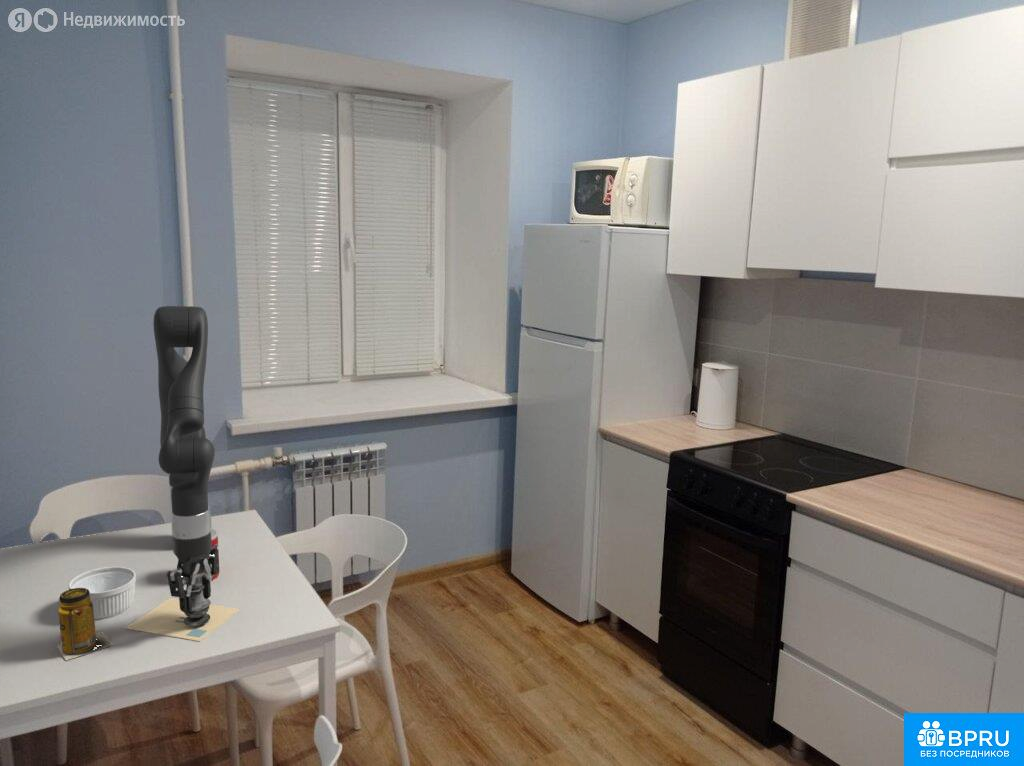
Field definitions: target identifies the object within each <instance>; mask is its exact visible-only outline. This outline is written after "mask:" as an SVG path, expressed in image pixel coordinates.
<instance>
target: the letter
mask: <svg viewBox="0 0 1024 766" xmlns="http://www.w3.org/2000/svg"><path fill="white" fill-rule="evenodd" d="M239 611H240V609H239V608H234V607H228V606H222V605H215V604H212V603H211V604H210V607H209V610H208V612H207V614H209V615H210V620H209V621H207V622H206V623H204V624H201V625H197V626H189V625H186V624H185V623H184V619H185V618H186V617H187V616H186V615H185V613H184V612H182V611H181V610H180V603H179V599H178V598H174V597H173V598H172V597H169V598H168V599H167V600H165V601H163V602H162V603H160V604H159V605H157V606H156V607H155V608H152V610H150V611H148V613H146V614H144V615H143V616H141V617H140V618H138V619H136V620H135V621H134V622H132V623H131V624H129V625H128V626H126V627H125V629H126V630H130V631H131V630H132V631H137V632H142V633H143V632H144V633H148V634H154V635H159V636H160V635H161V636H165V637H172V638H177V639H183V640H187V641H194V642H201V641H203V640H204V639H205V638H206V637H207V636H208V635H210V634H211V633H212V632H214V631H215V630H216V629H218V628H219V627H220V626H222V624H223V623H225V622H227V620H229V619H231V617H232V616H234V615H235V614H236V613H237V612H239ZM233 614H234V615H233Z"/></svg>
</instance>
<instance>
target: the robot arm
mask: <svg viewBox="0 0 1024 766" xmlns="http://www.w3.org/2000/svg"><path fill="white" fill-rule="evenodd" d="M152 323H153V324H152V325H153V335H154V340H155V348H156V349H155V350H156V354H157V355H156V356H157V363H158V365H157V367H158V368H157V370H158V372H157V375H158V381H157V383H158V397H159V408H160V434H159V435H160V438H159V439H160V443H159V444H160V450H159V454H158V465H159V467H160V468H161V470H162V471H163V472H164V473H166V474H168V475H169V476H168V483H169V484H168V485H169V495H170V496H169V497H170V498H169V499H170V510H171V511H170V514H171V534H172V538H171V539H172V548H173V549H172V552H173V554H174V555H175V556H176V558H177V565H176V568H175V569H173V570H168V571H167V572H166V577H167V581H168V588H169V591H170V596H171V597H173V598H174V597H176V598H179V603H180V610H181V611H182V612H190V611H191V610H192V605H191V595H190V593H191V589H192V586H193V585H194V584H195V580H196V575H198V574H199V573H201V575H202V585H204V589H203V596H204V598H207V599H209V598H210V597H211V596H212V595H211V592H212V589H211V588H212V587H211V581H213V580H212V576H213V575H216V574H217V564H218V549H219V548H218V549H217V548H212V541H211V529H213V528H212V515H211V514H212V511H211V510H212V509H211V505H210V504H209V493H208V492H209V491H208V489H209V487H208V486H209V480H210V475H211V471H212V468H213V464H214V460H215V454H216V452H215V451H216V450H215V447H214V446H215V445H214V444H213V443H212V441H211V440H210V439H209V438H207V437H206V430H205V427H204V425H205V410H204V409H205V407H204V403H205V402H204V387H205V386H204V381H205V374H206V366H207V356H208V355H207V354H208V353H207V352H208V340H209V323H208V316H207V313H206V310H205V309H204V308H203V307H201V306H188V305H187V306H184V305H183V306H182V305H181V306H179V305H165V306H159V307H158V308H157V309H156V310H155V312H154V315H153V322H152ZM176 348H192V349H191V355H190V357H189V358H188V361H187V360H186V359H185V358H183V357H182V356H181V355H180V354H179V353H178V351H177V350H176ZM210 564H212V569H210ZM185 578H186V579H187V578H190V580H189V581H187V580H186V579H185ZM185 585H186V587H185Z"/></svg>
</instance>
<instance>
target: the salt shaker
mask: <svg viewBox="0 0 1024 766" xmlns="http://www.w3.org/2000/svg"><path fill="white" fill-rule="evenodd" d="M186 579H187V581H189V580H190V578H186ZM203 589H204V585H202V575H201V573H199V574H198V575H196V580H195V584H194V585H193V586H192V589H191V593H190V595H191V605H192V610H191V611H190V612H184V613H185V615H186V616H187V617H186V618H185V619H184V623H185V624H186V625H189V626H197V625H201V624H204V623H206V622H207V621H209V620H210V615H209V614H207V612H208V610H209V607H210V604H211V605H212V602H211V600H210V599H209V598H208V599H207V598H204V596H203Z"/></svg>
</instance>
